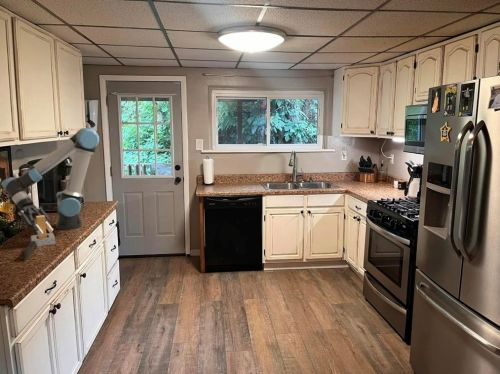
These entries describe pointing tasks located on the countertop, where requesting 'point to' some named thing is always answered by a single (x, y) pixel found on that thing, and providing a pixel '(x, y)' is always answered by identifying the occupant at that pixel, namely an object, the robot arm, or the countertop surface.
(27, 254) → the hand tool
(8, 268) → the countertop surface
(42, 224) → the orange rectangular block
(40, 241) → the square frame
